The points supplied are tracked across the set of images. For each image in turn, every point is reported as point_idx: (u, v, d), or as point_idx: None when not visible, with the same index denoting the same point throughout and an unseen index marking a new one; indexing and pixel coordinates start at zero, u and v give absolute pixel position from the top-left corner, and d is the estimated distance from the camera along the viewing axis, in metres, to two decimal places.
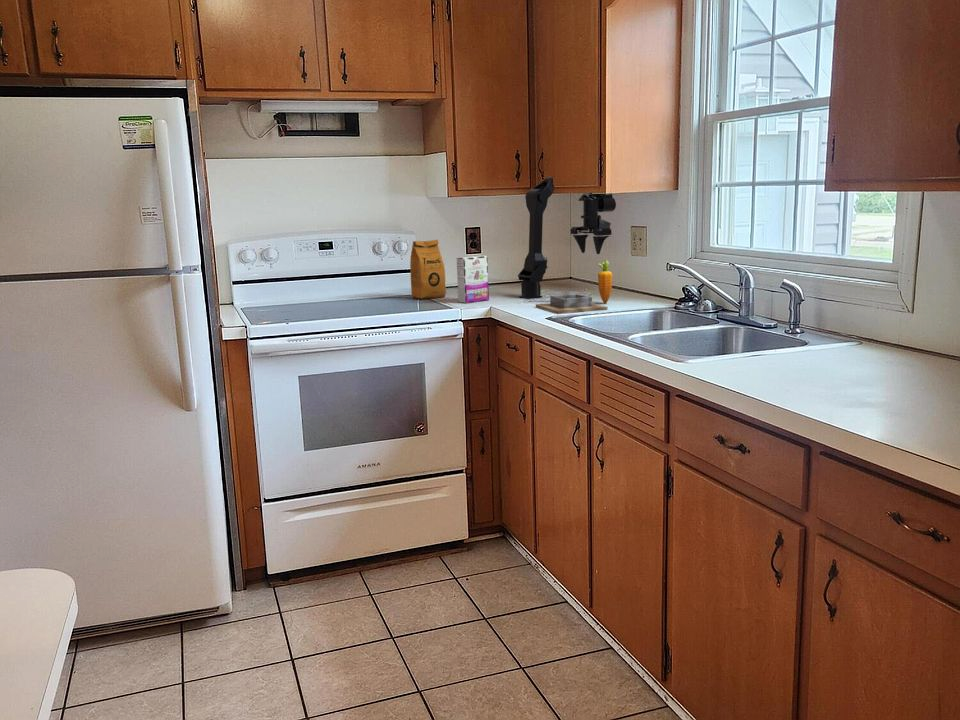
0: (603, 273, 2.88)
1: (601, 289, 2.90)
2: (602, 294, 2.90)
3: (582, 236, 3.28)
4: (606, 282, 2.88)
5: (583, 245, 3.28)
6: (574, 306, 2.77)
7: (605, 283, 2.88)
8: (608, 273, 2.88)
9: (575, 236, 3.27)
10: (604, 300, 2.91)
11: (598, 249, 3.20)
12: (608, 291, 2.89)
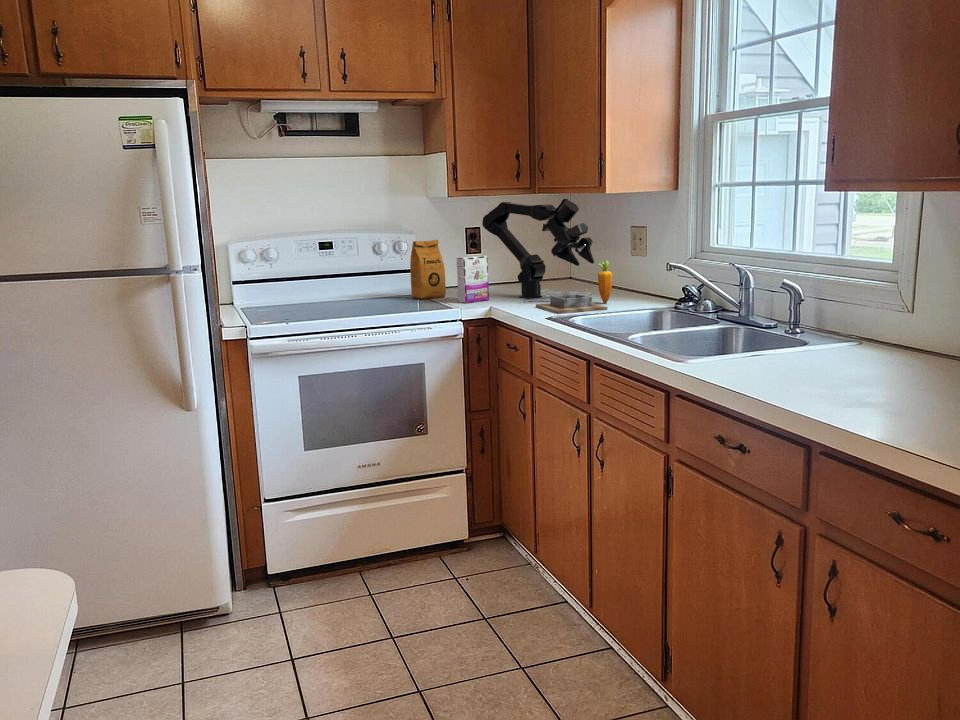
0: (603, 273, 2.88)
1: (601, 289, 2.90)
2: (602, 294, 2.90)
3: (583, 249, 3.00)
4: (606, 282, 2.88)
5: (588, 256, 2.99)
6: (574, 306, 2.77)
7: (605, 283, 2.88)
8: (608, 273, 2.88)
9: None
10: (604, 300, 2.91)
11: (573, 262, 2.92)
12: (608, 291, 2.89)
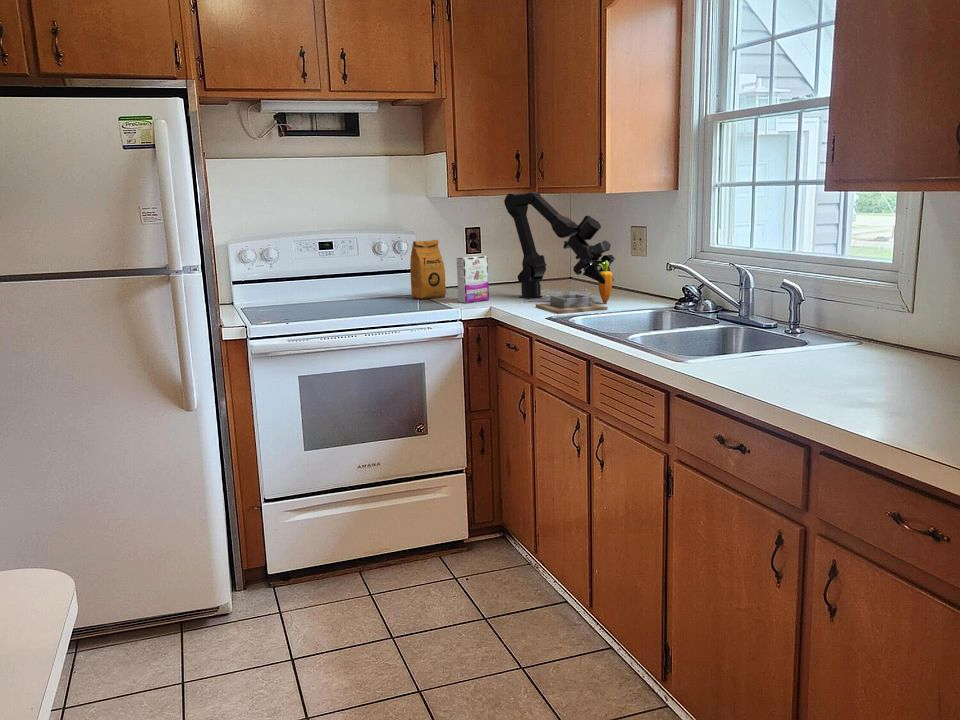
0: (603, 273, 2.88)
1: (601, 289, 2.90)
2: (602, 294, 2.90)
3: None
4: (606, 282, 2.88)
5: None
6: (574, 306, 2.77)
7: (605, 283, 2.88)
8: (608, 273, 2.88)
9: None
10: (604, 300, 2.91)
11: (599, 280, 2.88)
12: (608, 291, 2.89)
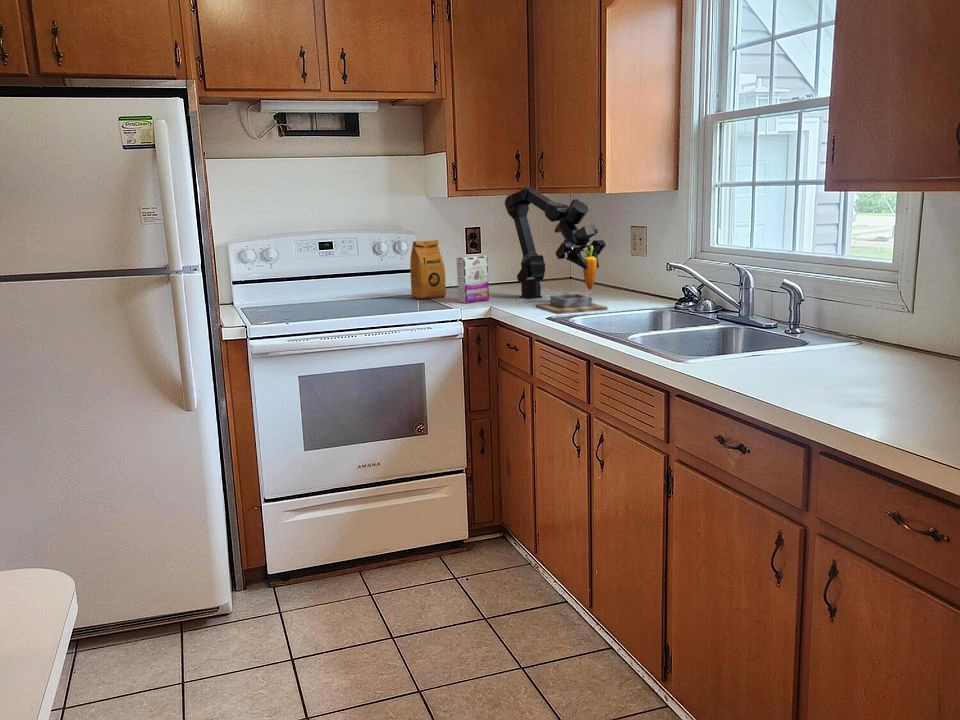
0: (586, 258, 2.82)
1: (584, 275, 2.84)
2: (585, 280, 2.84)
3: None
4: (588, 268, 2.82)
5: None
6: (574, 306, 2.77)
7: (588, 268, 2.82)
8: (591, 259, 2.81)
9: None
10: (588, 286, 2.85)
11: (581, 265, 2.82)
12: (591, 277, 2.83)
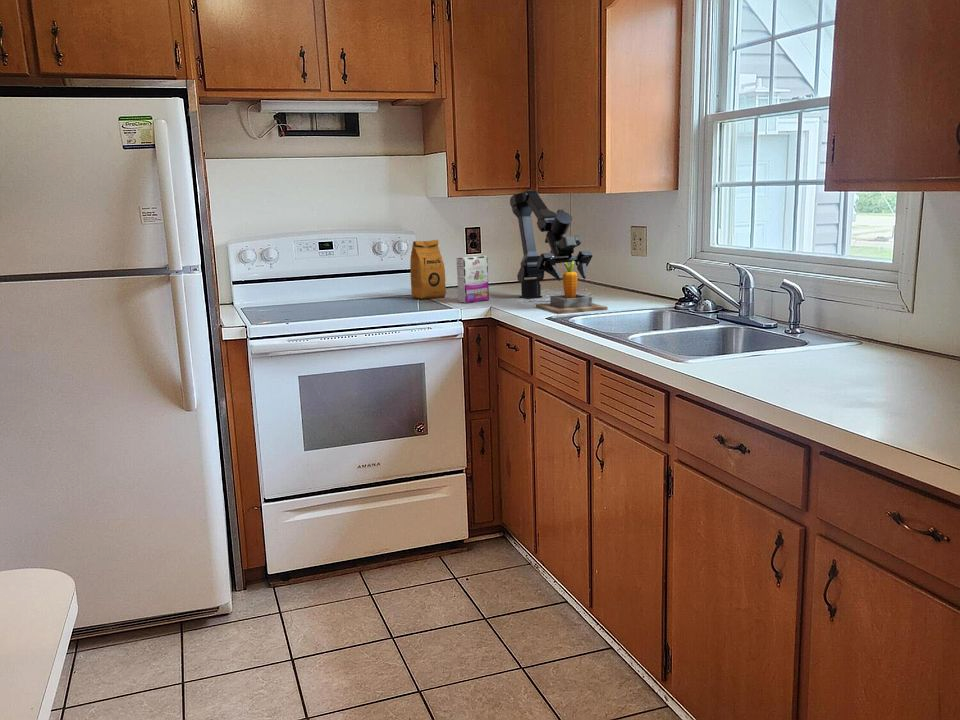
0: (565, 274, 2.80)
1: (564, 290, 2.81)
2: (565, 295, 2.82)
3: (579, 263, 2.85)
4: (567, 283, 2.79)
5: (582, 271, 2.82)
6: (574, 306, 2.77)
7: (566, 284, 2.79)
8: (570, 274, 2.79)
9: None
10: None
11: (556, 276, 2.79)
12: (570, 292, 2.80)
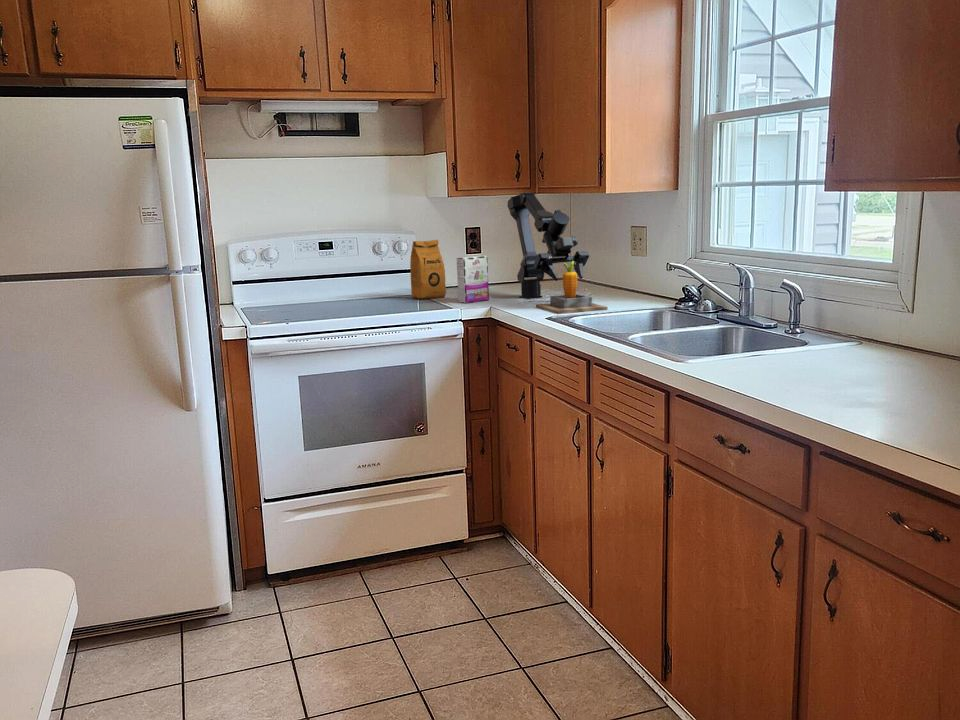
0: (565, 274, 2.79)
1: (564, 290, 2.81)
2: (565, 295, 2.82)
3: (576, 263, 2.87)
4: (567, 283, 2.79)
5: (578, 271, 2.85)
6: (574, 306, 2.77)
7: (566, 284, 2.79)
8: (569, 274, 2.78)
9: None
10: None
11: (553, 276, 2.81)
12: (570, 293, 2.80)
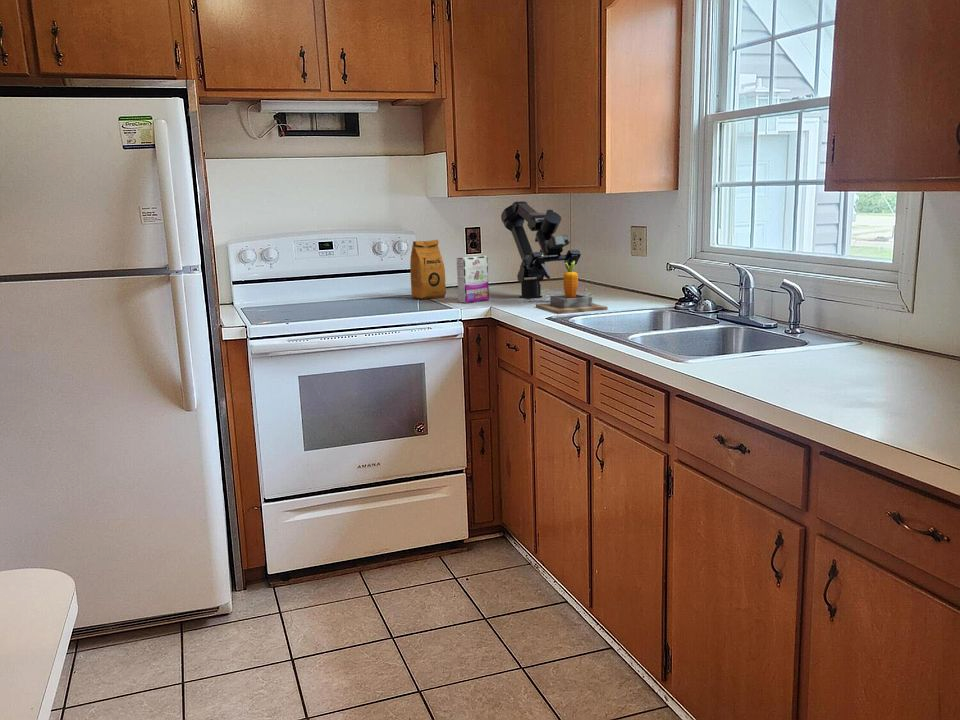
0: (565, 274, 2.80)
1: (564, 290, 2.81)
2: (565, 295, 2.82)
3: (568, 262, 2.92)
4: (567, 283, 2.79)
5: None
6: (574, 306, 2.77)
7: (567, 284, 2.79)
8: (570, 274, 2.79)
9: None
10: None
11: (545, 275, 2.87)
12: (570, 292, 2.80)
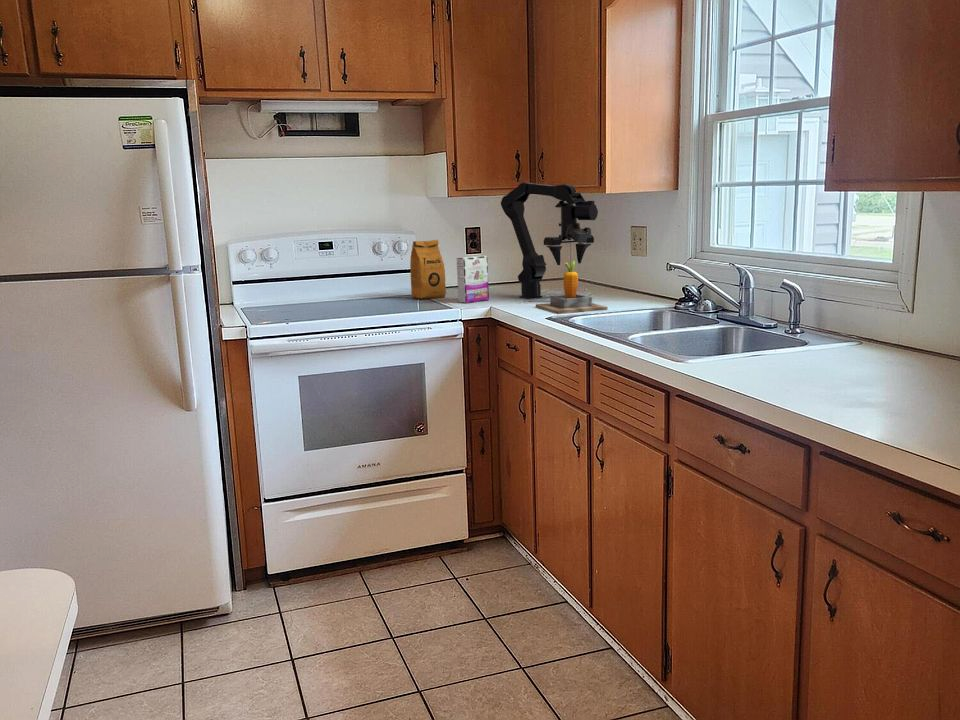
0: (566, 274, 2.80)
1: (564, 290, 2.81)
2: (565, 295, 2.82)
3: (580, 245, 3.02)
4: (567, 283, 2.79)
5: (579, 255, 3.02)
6: (574, 306, 2.77)
7: (567, 284, 2.79)
8: (570, 274, 2.79)
9: None
10: None
11: (556, 260, 2.98)
12: (570, 292, 2.80)
